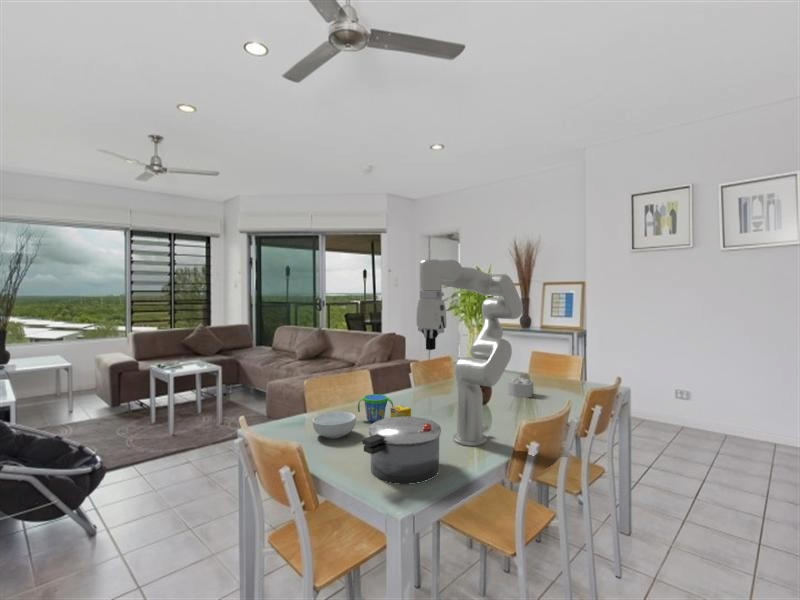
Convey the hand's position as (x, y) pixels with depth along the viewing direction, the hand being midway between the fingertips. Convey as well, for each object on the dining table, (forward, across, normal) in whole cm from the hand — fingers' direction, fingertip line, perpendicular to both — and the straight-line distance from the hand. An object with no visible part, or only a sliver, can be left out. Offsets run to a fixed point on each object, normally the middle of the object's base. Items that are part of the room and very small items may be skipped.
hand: (430, 349), depth 143 cm
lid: (+25, 0, +15) cm, 29 cm away
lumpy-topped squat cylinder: (+37, +18, -97) cm, 106 cm away
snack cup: (+37, +43, -14) cm, 59 cm away
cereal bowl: (+37, +41, +10) cm, 56 cm away
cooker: (+37, 0, +15) cm, 40 cm away
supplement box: (+37, +22, -8) cm, 44 cm away
